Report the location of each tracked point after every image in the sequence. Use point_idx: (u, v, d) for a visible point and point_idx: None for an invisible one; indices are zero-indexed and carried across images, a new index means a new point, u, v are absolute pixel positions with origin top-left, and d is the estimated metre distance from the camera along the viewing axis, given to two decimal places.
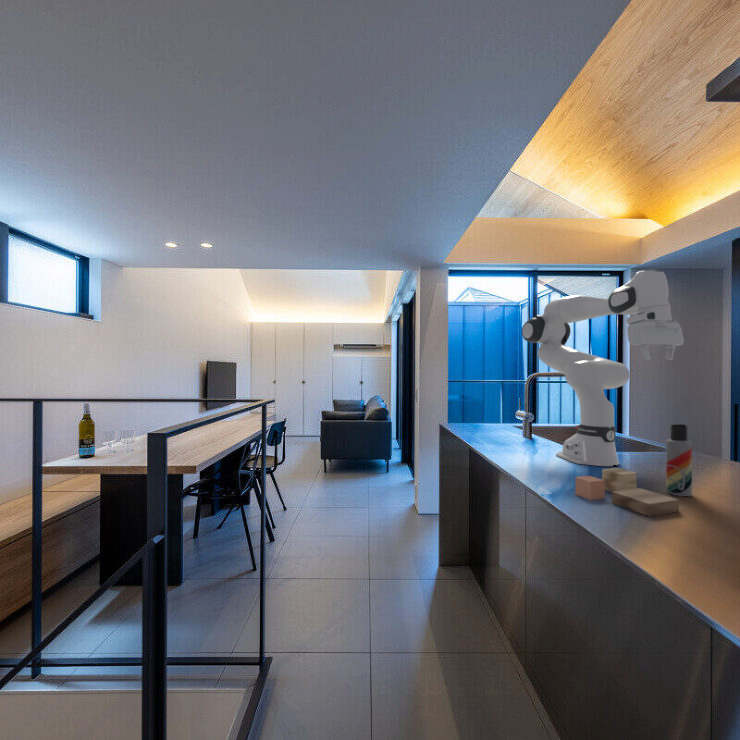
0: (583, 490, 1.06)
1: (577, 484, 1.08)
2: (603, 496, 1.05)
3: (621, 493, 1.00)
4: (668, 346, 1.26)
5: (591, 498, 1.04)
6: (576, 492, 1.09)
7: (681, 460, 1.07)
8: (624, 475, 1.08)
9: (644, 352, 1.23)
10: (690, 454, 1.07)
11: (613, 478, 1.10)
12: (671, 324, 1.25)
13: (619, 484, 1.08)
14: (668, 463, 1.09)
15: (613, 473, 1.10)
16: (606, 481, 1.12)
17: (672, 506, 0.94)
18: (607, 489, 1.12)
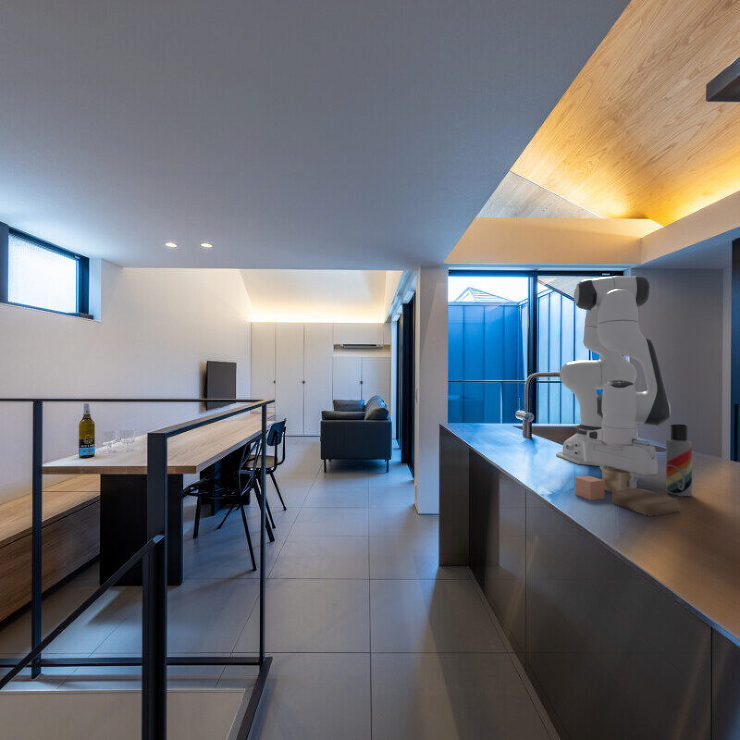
0: (583, 490, 1.06)
1: (577, 484, 1.08)
2: (603, 496, 1.05)
3: (621, 493, 1.00)
4: None
5: (591, 498, 1.04)
6: (576, 492, 1.09)
7: (681, 460, 1.07)
8: (624, 475, 1.08)
9: None
10: (690, 454, 1.07)
11: (613, 477, 1.10)
12: (630, 448, 1.07)
13: (619, 484, 1.08)
14: (668, 463, 1.09)
15: (613, 473, 1.10)
16: (606, 480, 1.12)
17: (672, 506, 0.94)
18: (607, 489, 1.12)
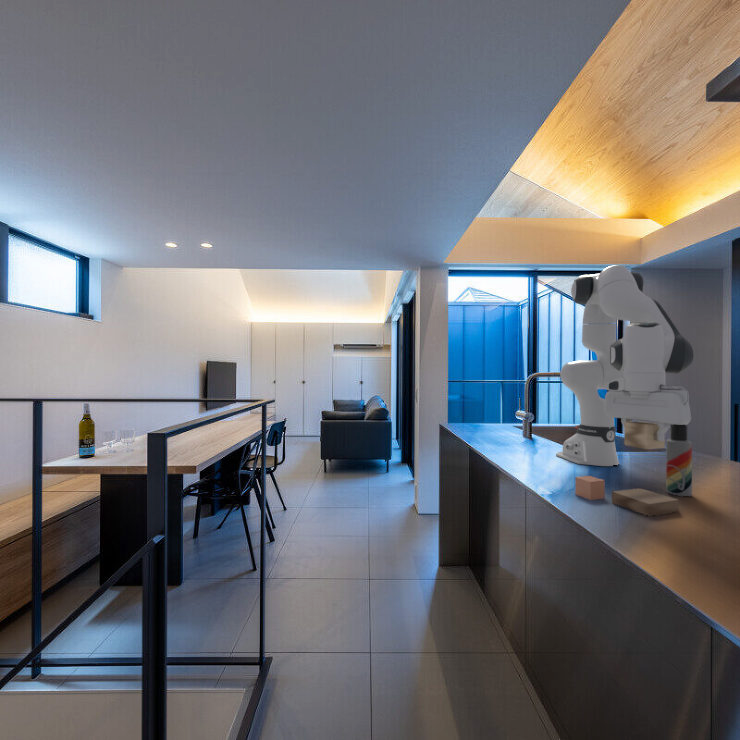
0: (583, 490, 1.06)
1: (577, 484, 1.08)
2: (603, 496, 1.05)
3: (621, 493, 1.00)
4: None
5: (591, 498, 1.04)
6: (576, 492, 1.09)
7: (681, 460, 1.07)
8: (651, 426, 0.95)
9: None
10: (690, 454, 1.07)
11: (638, 430, 0.97)
12: (658, 395, 0.93)
13: (645, 436, 0.95)
14: (668, 463, 1.09)
15: (638, 425, 0.97)
16: (629, 435, 0.99)
17: (672, 506, 0.94)
18: (631, 444, 0.99)
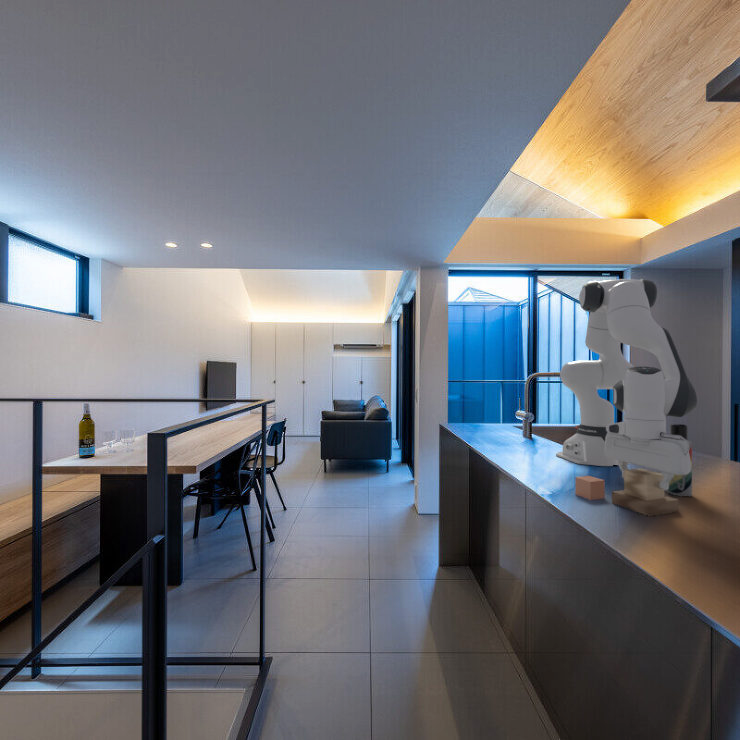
0: (583, 490, 1.06)
1: (577, 484, 1.08)
2: (603, 496, 1.05)
3: (621, 493, 1.00)
4: None
5: (591, 498, 1.04)
6: (576, 492, 1.09)
7: None
8: (651, 477, 0.95)
9: None
10: (690, 454, 1.07)
11: (638, 480, 0.97)
12: (658, 443, 0.93)
13: (645, 487, 0.95)
14: None
15: (638, 475, 0.97)
16: (629, 483, 0.99)
17: (672, 506, 0.94)
18: (630, 493, 0.99)
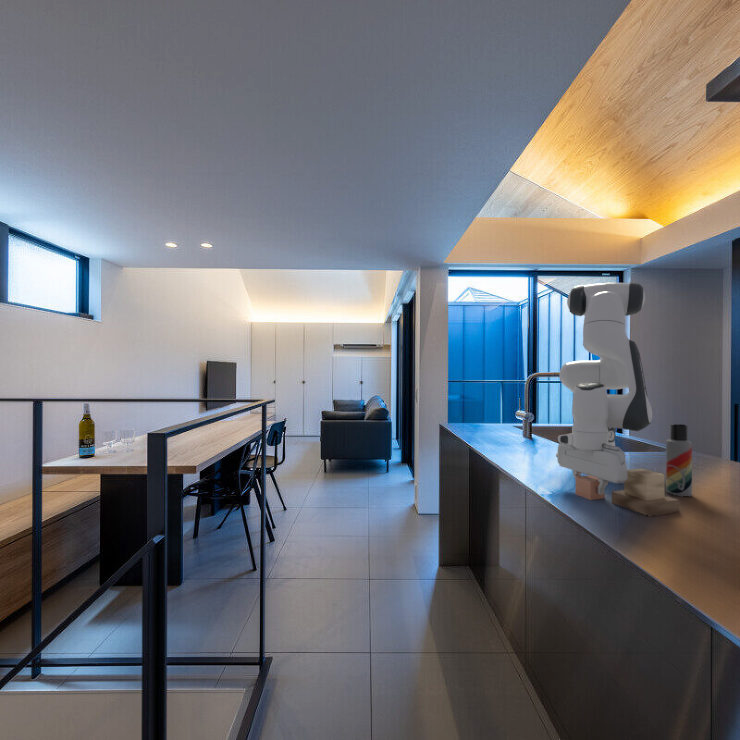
0: (583, 489, 1.06)
1: (577, 484, 1.08)
2: (603, 496, 1.05)
3: (621, 493, 1.00)
4: None
5: (591, 498, 1.04)
6: (576, 491, 1.09)
7: (681, 460, 1.07)
8: (651, 477, 0.95)
9: None
10: (690, 454, 1.07)
11: (638, 480, 0.97)
12: (600, 453, 1.02)
13: (645, 487, 0.95)
14: (668, 463, 1.09)
15: (638, 475, 0.97)
16: (629, 483, 0.99)
17: (672, 506, 0.94)
18: (630, 493, 0.99)
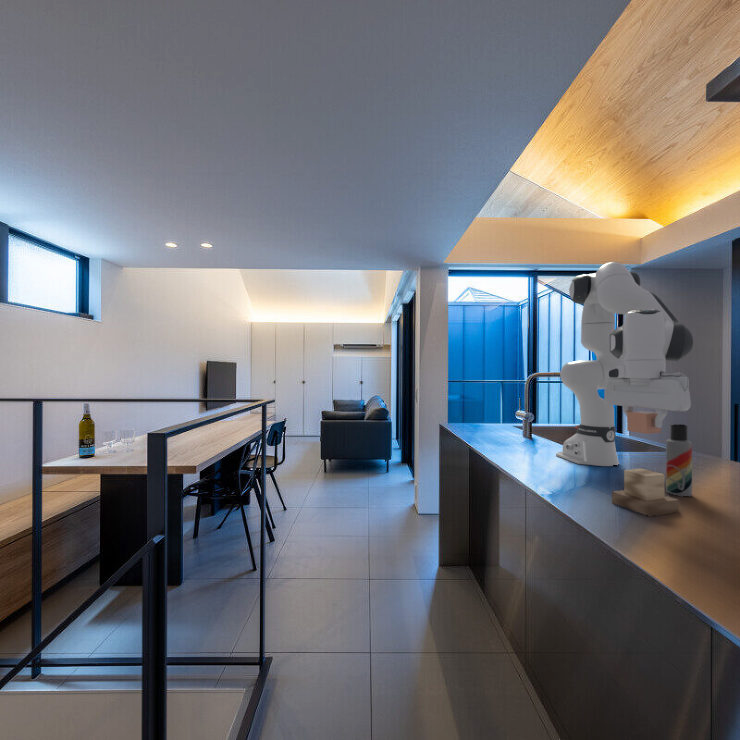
0: (637, 424, 0.97)
1: (629, 419, 1.00)
2: (659, 430, 0.97)
3: (621, 493, 1.00)
4: None
5: (647, 431, 0.95)
6: (628, 427, 1.00)
7: (681, 460, 1.07)
8: (651, 477, 0.95)
9: None
10: (690, 454, 1.07)
11: (638, 480, 0.97)
12: (658, 382, 0.93)
13: (645, 487, 0.95)
14: (668, 463, 1.09)
15: (638, 475, 0.97)
16: (629, 483, 0.99)
17: (672, 506, 0.94)
18: (630, 493, 0.99)
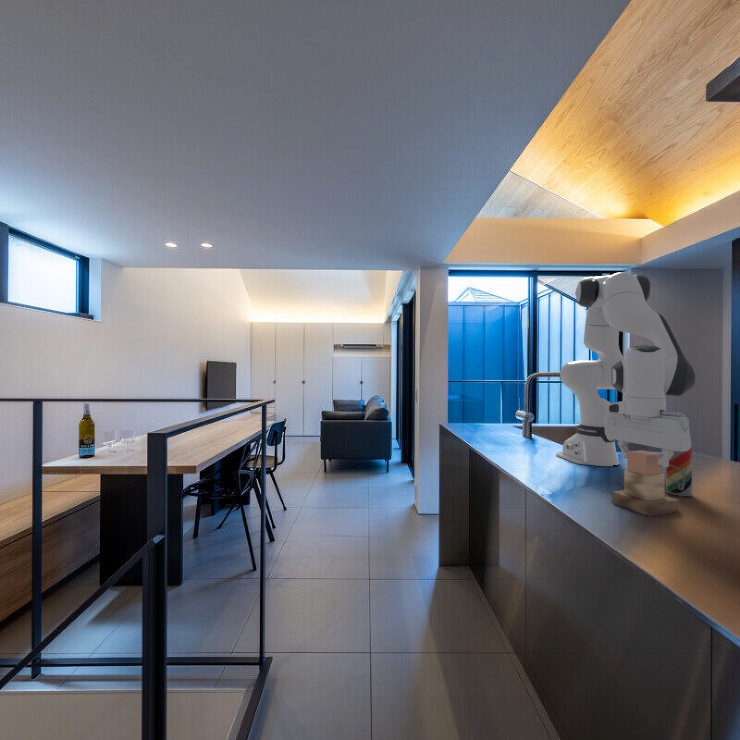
0: (638, 464, 0.97)
1: (629, 459, 1.00)
2: (659, 471, 0.97)
3: (621, 493, 1.00)
4: None
5: (647, 473, 0.95)
6: (628, 467, 1.00)
7: (681, 460, 1.07)
8: (651, 477, 0.95)
9: None
10: (690, 454, 1.07)
11: (638, 480, 0.97)
12: (658, 420, 0.93)
13: (645, 487, 0.95)
14: None
15: (638, 475, 0.97)
16: (629, 483, 0.99)
17: (672, 506, 0.94)
18: (630, 493, 0.99)
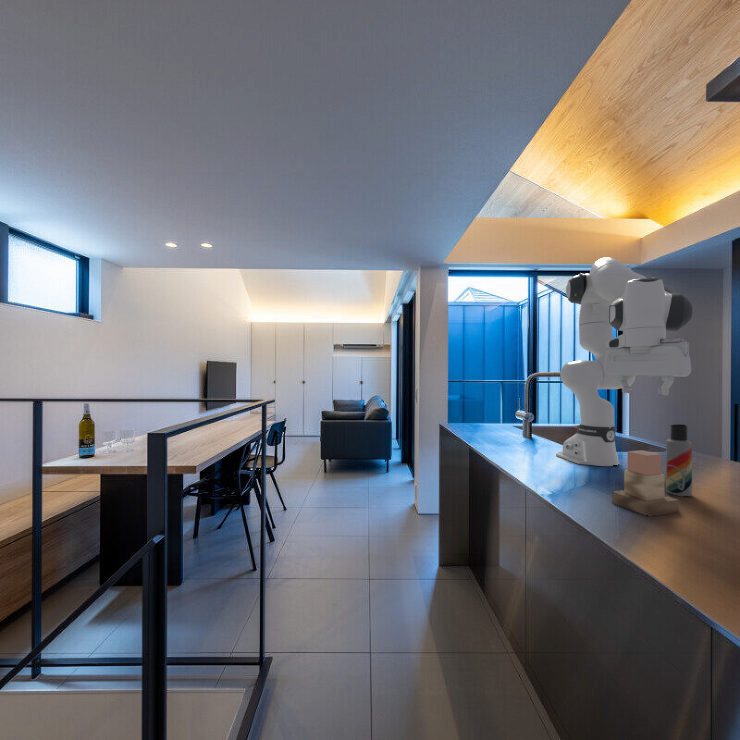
0: (638, 464, 0.97)
1: (629, 459, 1.00)
2: (659, 471, 0.97)
3: (621, 493, 1.00)
4: None
5: (647, 473, 0.95)
6: (628, 467, 1.00)
7: (681, 460, 1.07)
8: (651, 477, 0.95)
9: None
10: (690, 454, 1.07)
11: (638, 480, 0.97)
12: (658, 348, 0.93)
13: (645, 487, 0.95)
14: (668, 463, 1.09)
15: (638, 475, 0.97)
16: (629, 483, 0.99)
17: (672, 506, 0.94)
18: (630, 493, 0.99)
